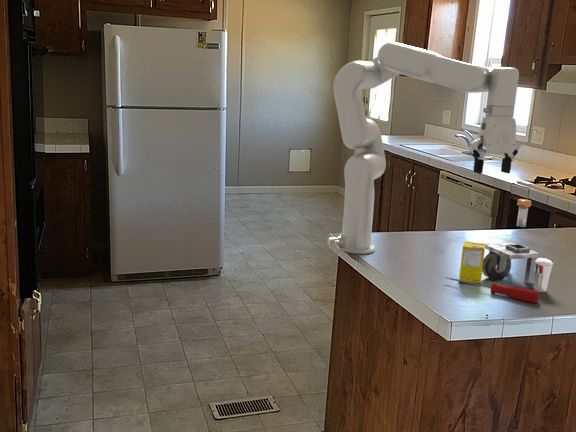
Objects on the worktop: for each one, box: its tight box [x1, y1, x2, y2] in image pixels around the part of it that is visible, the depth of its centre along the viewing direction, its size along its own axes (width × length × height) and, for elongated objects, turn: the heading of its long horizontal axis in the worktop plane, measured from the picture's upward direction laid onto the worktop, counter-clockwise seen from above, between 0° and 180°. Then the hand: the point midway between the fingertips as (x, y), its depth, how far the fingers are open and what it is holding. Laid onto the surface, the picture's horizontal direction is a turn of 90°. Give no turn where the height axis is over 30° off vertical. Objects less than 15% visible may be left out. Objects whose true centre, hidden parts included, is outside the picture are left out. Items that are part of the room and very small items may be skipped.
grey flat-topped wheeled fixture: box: [481, 241, 539, 285], centre depth 174 cm, size 13×12×10 cm
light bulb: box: [516, 198, 533, 228], centre depth 170 cm, size 4×4×7 cm
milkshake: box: [532, 257, 556, 293], centre depth 166 cm, size 5×5×10 cm
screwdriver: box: [443, 276, 541, 304], centre depth 163 cm, size 4×25×4 cm, turn 60°
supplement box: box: [458, 240, 486, 285], centre depth 170 cm, size 6×6×11 cm
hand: (491, 172), depth 172 cm, fingers open, 9 cm apart
